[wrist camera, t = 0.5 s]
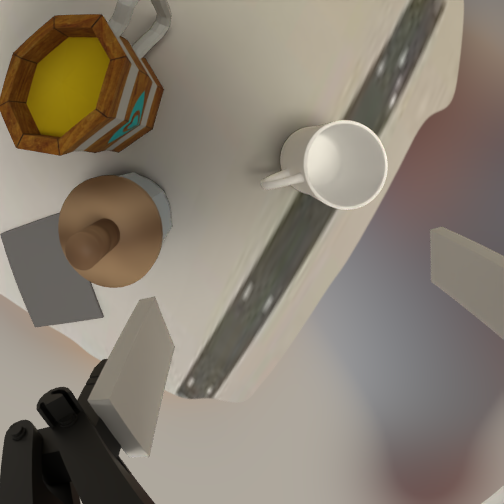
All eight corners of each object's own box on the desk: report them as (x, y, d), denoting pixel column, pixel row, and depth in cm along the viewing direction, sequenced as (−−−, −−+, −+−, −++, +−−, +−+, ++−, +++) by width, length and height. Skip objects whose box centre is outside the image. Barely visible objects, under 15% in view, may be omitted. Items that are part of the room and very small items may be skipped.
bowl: (86, 186, 37) (56, 195, 29) (161, 164, 37) (143, 168, 29) (107, 262, 40) (84, 285, 32) (180, 246, 40) (169, 268, 32)
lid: (52, 192, 29) (14, 204, 22) (147, 161, 29) (124, 165, 22) (82, 290, 33) (54, 321, 26) (175, 272, 33) (162, 303, 26)
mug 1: (122, 174, 37) (65, 189, 23) (51, 121, 34) (-21, 116, 19) (218, 47, 33) (211, -7, 19) (138, 2, 30) (100, -54, 15)
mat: (1, 233, 38) (0, 234, 37) (68, 210, 38) (67, 210, 37) (36, 326, 42) (35, 327, 42) (103, 316, 42) (102, 317, 42)
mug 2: (263, 207, 39) (276, 231, 28) (246, 140, 37) (252, 134, 25) (352, 186, 39) (396, 201, 28) (338, 121, 36) (380, 111, 25)
